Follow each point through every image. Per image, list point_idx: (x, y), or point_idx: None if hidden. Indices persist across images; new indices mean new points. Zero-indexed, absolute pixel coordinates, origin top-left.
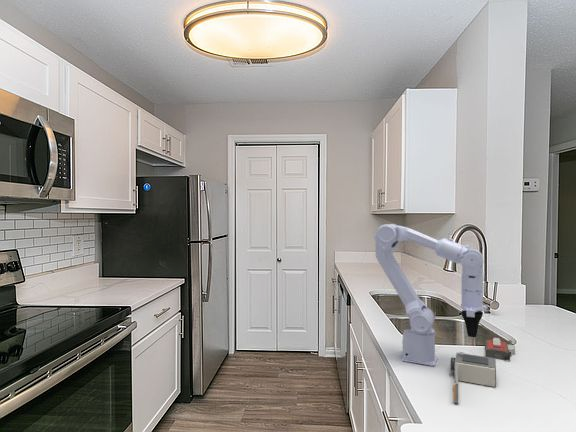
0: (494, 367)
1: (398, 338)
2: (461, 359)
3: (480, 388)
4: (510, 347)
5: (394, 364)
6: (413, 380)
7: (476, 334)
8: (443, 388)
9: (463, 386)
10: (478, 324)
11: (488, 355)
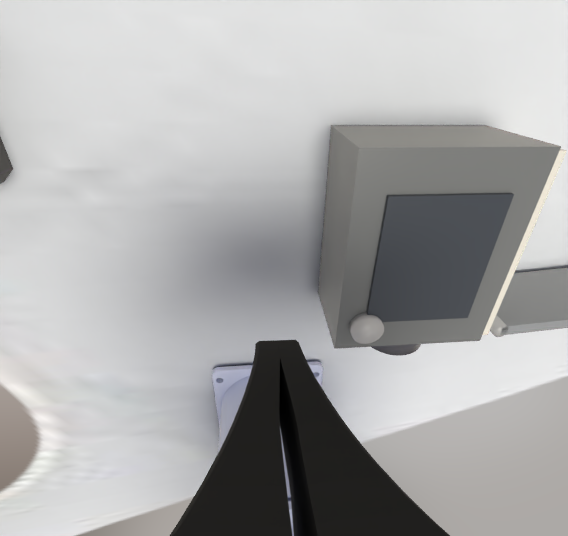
0: (551, 155)
1: (63, 490)
2: (442, 319)
3: None
4: None
5: None
6: (471, 383)
7: (302, 355)
8: None
9: None
10: (357, 443)
11: (1, 168)
